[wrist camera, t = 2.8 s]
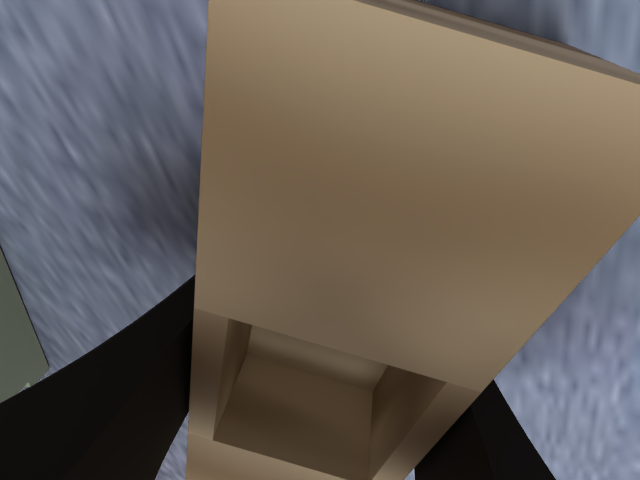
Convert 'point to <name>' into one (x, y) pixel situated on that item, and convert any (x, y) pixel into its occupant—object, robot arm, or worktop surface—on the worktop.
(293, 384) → the notched tan block
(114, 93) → the worktop surface
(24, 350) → the cradle
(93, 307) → the worktop surface
